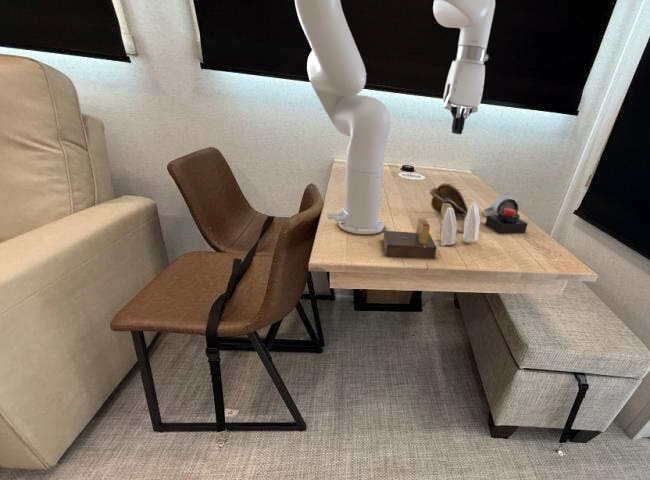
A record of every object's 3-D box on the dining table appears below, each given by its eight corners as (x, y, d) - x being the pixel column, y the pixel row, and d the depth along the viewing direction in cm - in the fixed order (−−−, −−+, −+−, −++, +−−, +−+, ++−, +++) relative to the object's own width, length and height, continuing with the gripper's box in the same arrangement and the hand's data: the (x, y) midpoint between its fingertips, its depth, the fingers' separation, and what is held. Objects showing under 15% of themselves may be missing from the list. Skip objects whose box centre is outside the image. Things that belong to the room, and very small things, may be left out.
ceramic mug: (509, 214, 120) (515, 193, 116) (515, 222, 113) (522, 199, 109) (480, 212, 120) (485, 190, 116) (485, 219, 113) (490, 196, 109)
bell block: (499, 234, 101) (503, 218, 98) (484, 224, 107) (488, 209, 104) (524, 233, 105) (529, 217, 102) (509, 224, 111) (513, 209, 108)
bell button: (507, 217, 101) (509, 211, 100) (500, 213, 104) (502, 207, 103) (516, 216, 103) (518, 211, 102) (509, 213, 105) (511, 207, 105)
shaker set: (474, 239, 94) (483, 201, 88) (481, 245, 91) (491, 205, 85) (435, 240, 91) (443, 200, 85) (441, 246, 87) (449, 204, 81)
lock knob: (415, 234, 84) (418, 216, 81) (422, 235, 84) (425, 217, 82) (419, 243, 79) (422, 224, 76) (426, 244, 79) (430, 225, 77)
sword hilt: (476, 198, 110) (438, 175, 107) (486, 220, 89) (439, 192, 86) (459, 223, 115) (422, 202, 112) (465, 250, 94) (420, 224, 91)
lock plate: (386, 257, 78) (387, 244, 76) (382, 240, 86) (383, 229, 84) (443, 260, 80) (445, 248, 78) (434, 243, 88) (436, 232, 87)
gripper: (485, 61, 93) (471, 133, 102) (439, 53, 87) (428, 129, 97) (501, 61, 87) (484, 137, 96) (452, 51, 81) (440, 133, 91)
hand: (456, 133), depth 97 cm, fingers closed
